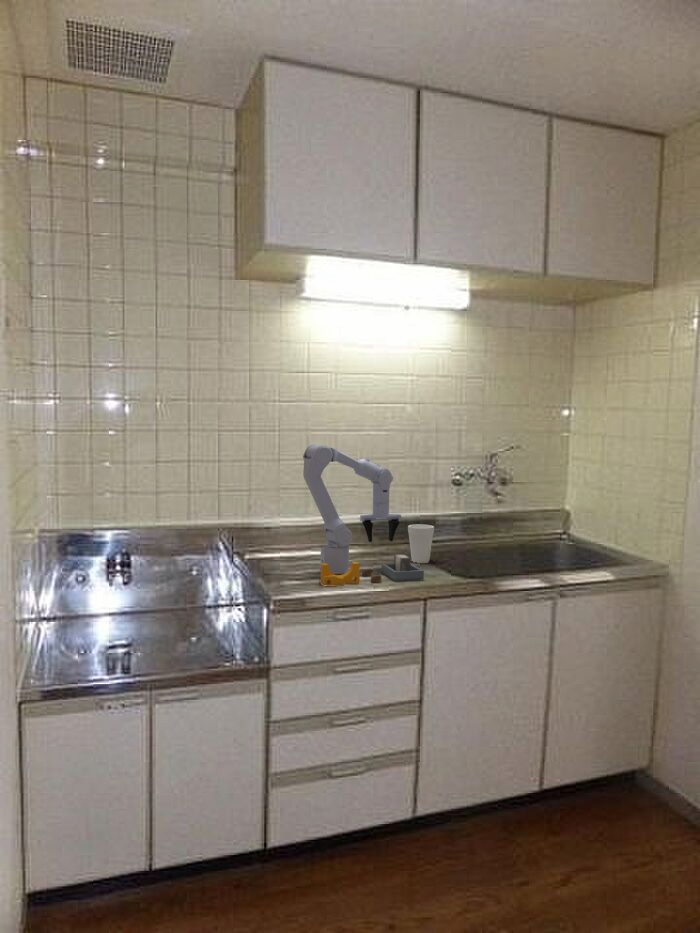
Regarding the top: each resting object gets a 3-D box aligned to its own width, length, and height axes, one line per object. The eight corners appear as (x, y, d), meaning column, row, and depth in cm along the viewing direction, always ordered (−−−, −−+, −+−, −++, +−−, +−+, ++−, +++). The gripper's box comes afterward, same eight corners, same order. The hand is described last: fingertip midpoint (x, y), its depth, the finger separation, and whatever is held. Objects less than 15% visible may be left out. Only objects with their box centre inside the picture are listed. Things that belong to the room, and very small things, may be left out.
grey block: (401, 576, 215) (401, 558, 214) (394, 572, 221) (394, 554, 221) (410, 576, 216) (410, 558, 215) (402, 571, 222) (402, 554, 222)
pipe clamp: (323, 587, 204) (324, 566, 203) (320, 583, 208) (320, 563, 207) (361, 584, 207) (361, 564, 206) (357, 581, 211) (357, 561, 211)
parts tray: (394, 581, 211) (394, 572, 211) (381, 572, 223) (381, 563, 223) (423, 579, 214) (423, 570, 213) (409, 571, 226) (409, 562, 226)
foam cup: (407, 563, 238) (408, 528, 238) (407, 558, 248) (407, 524, 247) (434, 564, 238) (434, 528, 237) (432, 559, 247) (433, 524, 246)
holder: (372, 582, 209) (372, 576, 209) (362, 575, 219) (362, 569, 219) (381, 582, 210) (381, 576, 209) (370, 574, 220) (370, 568, 220)
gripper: (364, 504, 224) (364, 543, 225) (404, 503, 228) (403, 542, 229) (358, 501, 230) (358, 540, 231) (397, 501, 234) (397, 538, 235)
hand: (380, 541), depth 230 cm, fingers open, 7 cm apart
